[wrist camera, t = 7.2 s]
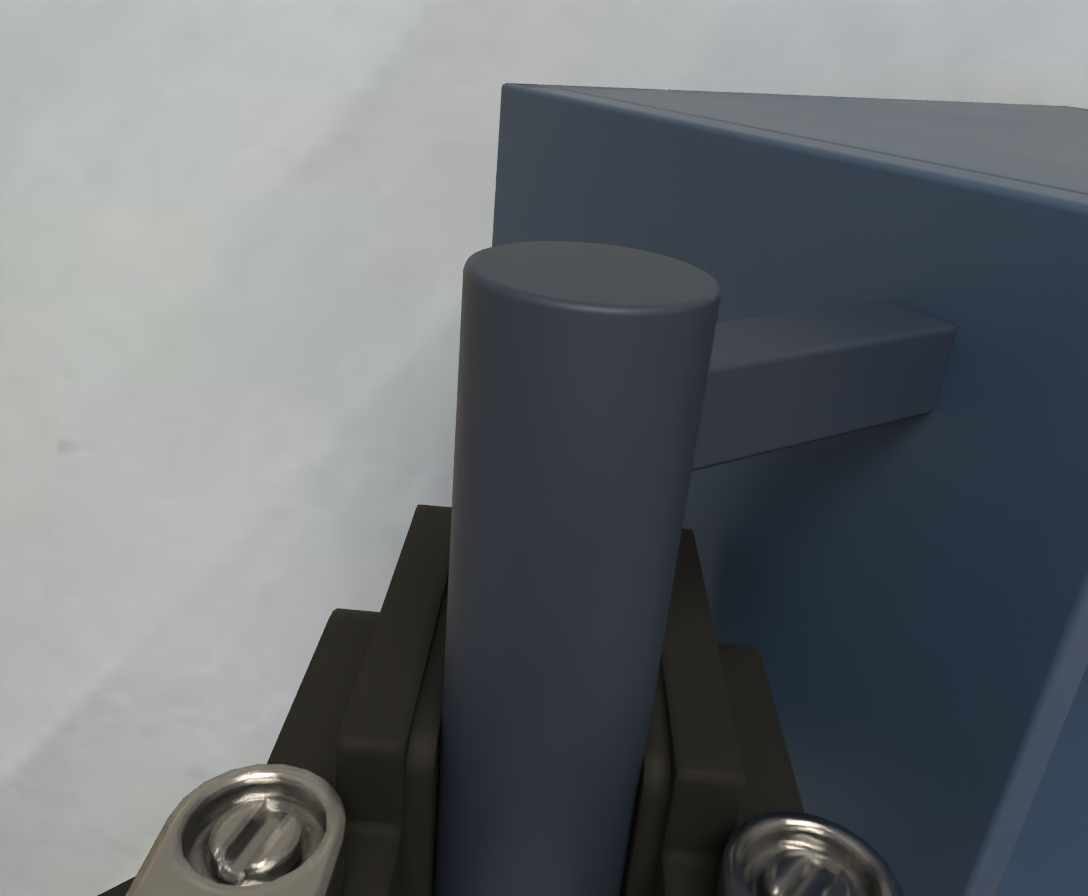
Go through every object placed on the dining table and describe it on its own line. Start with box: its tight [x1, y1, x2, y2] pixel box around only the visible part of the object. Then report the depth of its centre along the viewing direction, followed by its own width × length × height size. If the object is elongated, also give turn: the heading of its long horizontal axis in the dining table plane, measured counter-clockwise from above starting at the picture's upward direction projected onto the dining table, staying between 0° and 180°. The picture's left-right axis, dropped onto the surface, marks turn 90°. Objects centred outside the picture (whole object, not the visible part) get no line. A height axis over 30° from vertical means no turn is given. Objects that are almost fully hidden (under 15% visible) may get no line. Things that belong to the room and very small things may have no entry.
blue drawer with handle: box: [433, 83, 1088, 896], centre depth 14 cm, size 18×11×9 cm
